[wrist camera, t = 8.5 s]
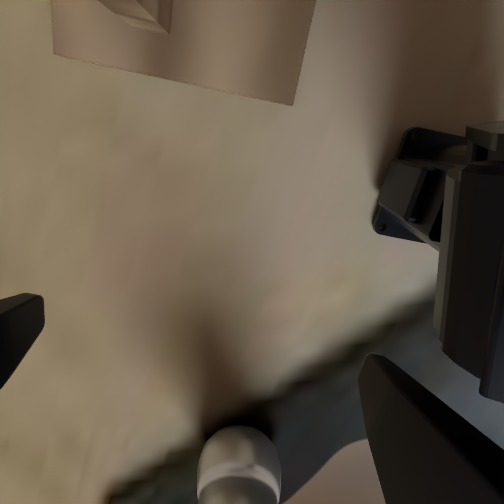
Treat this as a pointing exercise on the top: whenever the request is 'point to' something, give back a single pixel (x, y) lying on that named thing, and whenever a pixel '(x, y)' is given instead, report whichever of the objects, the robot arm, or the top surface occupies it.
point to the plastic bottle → (239, 468)
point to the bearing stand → (192, 41)
